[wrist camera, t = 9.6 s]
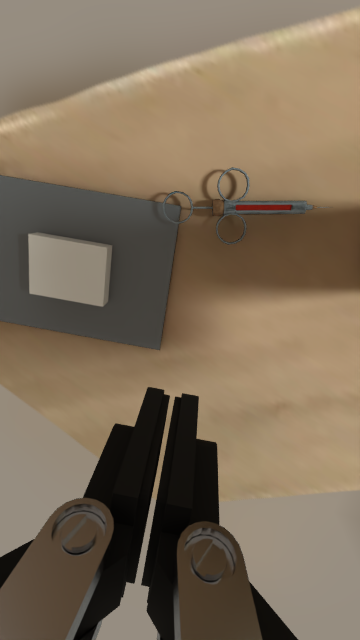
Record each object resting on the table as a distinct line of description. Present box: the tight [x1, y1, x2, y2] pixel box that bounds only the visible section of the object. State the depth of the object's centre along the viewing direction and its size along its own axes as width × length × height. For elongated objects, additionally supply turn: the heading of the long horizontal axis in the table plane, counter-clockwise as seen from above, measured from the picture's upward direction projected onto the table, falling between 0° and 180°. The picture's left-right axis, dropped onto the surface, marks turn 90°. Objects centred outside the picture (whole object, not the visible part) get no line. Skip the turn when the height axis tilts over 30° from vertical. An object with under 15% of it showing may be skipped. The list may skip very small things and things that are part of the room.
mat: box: [0, 175, 181, 350], centre depth 39 cm, size 22×18×1 cm
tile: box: [28, 232, 112, 307], centre depth 37 cm, size 2×7×9 cm
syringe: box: [163, 168, 327, 245], centre depth 34 cm, size 8×18×2 cm, turn 90°
